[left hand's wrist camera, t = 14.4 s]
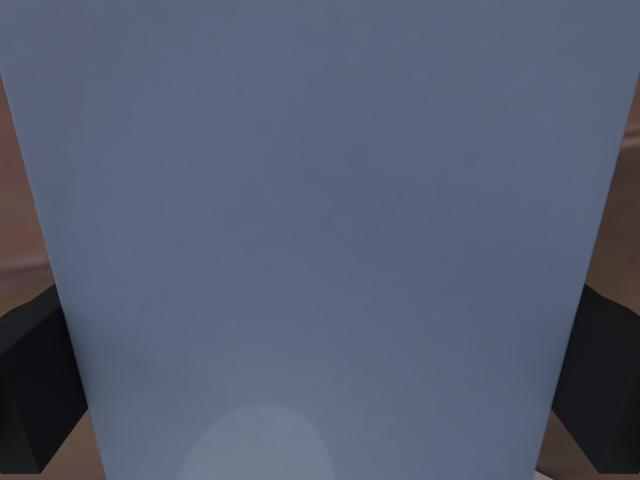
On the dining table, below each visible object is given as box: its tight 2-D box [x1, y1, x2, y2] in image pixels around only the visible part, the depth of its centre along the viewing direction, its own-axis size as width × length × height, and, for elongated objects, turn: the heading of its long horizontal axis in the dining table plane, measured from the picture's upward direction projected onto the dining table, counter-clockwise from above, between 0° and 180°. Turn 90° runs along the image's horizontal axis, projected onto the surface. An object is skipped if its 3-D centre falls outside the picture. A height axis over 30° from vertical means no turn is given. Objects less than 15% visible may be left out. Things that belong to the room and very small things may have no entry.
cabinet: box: [0, 0, 640, 480], centre depth 11 cm, size 22×11×9 cm, turn 0°
